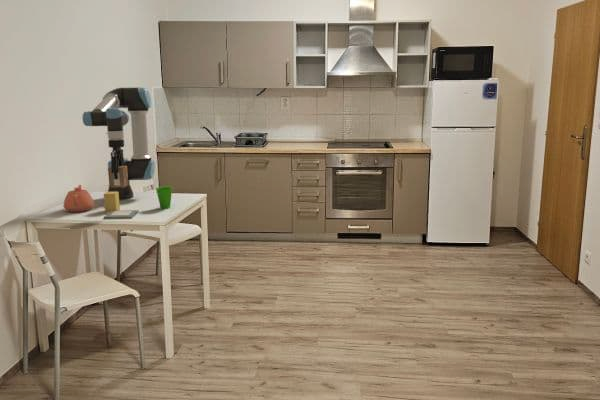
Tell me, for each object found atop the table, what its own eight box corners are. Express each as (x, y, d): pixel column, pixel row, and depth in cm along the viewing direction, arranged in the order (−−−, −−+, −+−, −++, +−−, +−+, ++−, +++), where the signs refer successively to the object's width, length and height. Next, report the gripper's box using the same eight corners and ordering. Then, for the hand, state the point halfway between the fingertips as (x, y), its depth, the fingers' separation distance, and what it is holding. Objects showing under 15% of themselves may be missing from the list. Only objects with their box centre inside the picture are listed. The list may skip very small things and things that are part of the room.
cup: (176, 206, 304) (175, 187, 302) (168, 210, 296) (167, 190, 293) (162, 205, 306) (161, 186, 304) (153, 209, 298) (152, 189, 296)
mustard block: (108, 209, 297) (107, 191, 295) (119, 209, 297) (118, 191, 295) (105, 212, 291) (103, 193, 289) (116, 212, 291) (115, 193, 289)
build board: (112, 212, 290) (111, 210, 290) (138, 212, 291) (138, 209, 291) (103, 218, 277) (103, 216, 276) (131, 218, 277) (131, 216, 277)
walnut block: (114, 185, 284) (113, 165, 282) (128, 184, 284) (127, 165, 282) (110, 187, 277) (109, 167, 275) (124, 187, 277) (123, 167, 275)
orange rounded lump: (67, 206, 306) (65, 184, 304) (96, 204, 310) (94, 183, 307) (61, 215, 285) (58, 192, 283) (91, 213, 289) (89, 190, 286)
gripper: (114, 137, 285) (117, 180, 290) (102, 141, 266) (105, 187, 270) (128, 137, 285) (131, 180, 290) (117, 141, 266) (121, 187, 271)
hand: (119, 183), depth 280 cm, fingers closed on walnut block, 7 cm apart
